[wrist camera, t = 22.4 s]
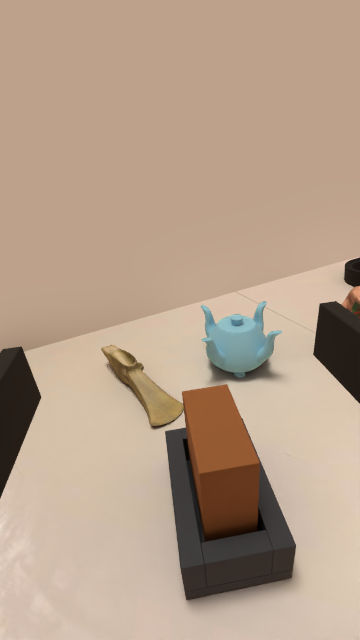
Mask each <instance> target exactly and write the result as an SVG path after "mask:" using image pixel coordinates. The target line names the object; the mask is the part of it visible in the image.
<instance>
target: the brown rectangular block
mask: <svg viewBox="0 0 360 640" xmlns="http://www.w3.org/2000/svg"><path fill="white" fill-rule="evenodd" d="M182 396H183V405H184V413H185V422H186V431H187V439H188V448H189V457H190V465H191V471H192V476H193V482H194V487H195V493H196V498H197V503H198V509H199V514H200V520H201V525H202V530H203V536H204V541H205V542H207V541H212V540H217V539H222V538H227V537H232V536H237V535H242V534H247V533H253V532H257V526H258V500H259V473H260V462H259V459H258V457H257V454H256V452H255V450H254V447H253V445H252V443H251V440H250V438H249V435H248V433H247V431H246V428H245V426H244V423H243V421H242V419H241V416H240V414H239V412H238V409H237V407H236V404H235V402H234V400H233V397H232V395H231V393H230V390H229V388H228V385H221V386H214V387H208V388H202V389H196V390H190V391H183V392H182Z"/></svg>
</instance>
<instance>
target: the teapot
mask: <svg viewBox="0 0 360 640" xmlns="http://www.w3.org/2000/svg"><path fill="white" fill-rule="evenodd" d="M265 305H266V301H264V302H262V303H260V304H259V305H258V307H257V309H256V312H255V315H254V318H253V319H251V318H249V317H246V316H242V315H239V314H235V315H232V316H228V317H225V318H223V319H221V320H220V321H219V322H218V323H217V325H216V324H215V322H214V319H213V316H212V313H211V311H210V310H209V308H207V307H206V306H204V305H201V308H202V309H203V311H204V313H205V319H206V321H205V331H206V335H207V337H208V338H204V339H202V341H204V342H206V343H207V349H206V350H207V356H208V358H209V359H210V361H211V362H212V363H213V364H214V366H216V367H219V368H221V369H223V370H225V371H229V372H234V375H235V376H236V377H238V378H242V377H244V376H245V372H248V371H251V370H254V369H255V368H257V367H259V366H260V365H261V364H262V363H263V362H265V360H267V359H268V358H270V356H271V355H272V353H273V350H274V339H275V337H276V336H277V335H278V334H280V333H282V331H272V332H270V333H269V334H268V335H267V338H266V337H265V335H264V333H263V326H264V325H263V309H264V307H265Z"/></svg>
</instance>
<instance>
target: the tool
mask: <svg viewBox="0 0 360 640" xmlns="http://www.w3.org/2000/svg"><path fill="white" fill-rule="evenodd" d="M102 351H103V353H104V355H105V356H106V357H107V359H108V361H109V362H110V364H111V366H112V368H113V369H114V371H115V373H116V374H117V376H118V377H119V378H120V379H121V380H122V381H123V382H124V383H125V384H128V385H130V386H131V388H132V389H133V391H134V392H135V393H136V395H137V396H138V398H139V399H140V401H141V402H142V404H143V406H144V407H145V409H146V411H147V414H148V417H149V422H150V424H151V425H152V426H158V425H163V424H166V423H169V422H171V421H173V420H175V419H176V418H177V417H178V416H179V415H180V414H181V413H182V411H183V409H184V405H183V404H182V403H180V402H179V401H177V400H176V399H174V398H173V397H171V396H170V395H168V394H167V393H166V392H165V391H163V390H162V389H161V388H160V387H159V386H157V385H156V384H155V383H154V382H153V381H152V380H151V379H149V378H148V377H147V376H146V375H145V374H144V373H143V372H142V370H143V368H144V367H143V365H142V364H141V363H137V360H136V359H135V357H134V356H132V355H131V354H130V353H129V352H126V351H124V350H122V349H119V348H117V347H116V346H114V345H110V346H107V347H102Z"/></svg>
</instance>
